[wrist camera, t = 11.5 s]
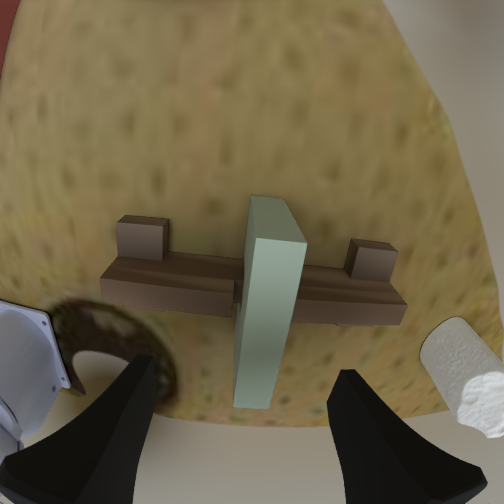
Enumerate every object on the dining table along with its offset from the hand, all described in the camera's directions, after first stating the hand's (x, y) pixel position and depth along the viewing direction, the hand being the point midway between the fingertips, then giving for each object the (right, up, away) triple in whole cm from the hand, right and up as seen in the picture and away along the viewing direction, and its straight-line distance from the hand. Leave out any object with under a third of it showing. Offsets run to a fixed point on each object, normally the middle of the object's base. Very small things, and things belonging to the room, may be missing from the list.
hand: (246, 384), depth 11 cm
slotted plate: (+1, +4, +10) cm, 10 cm away
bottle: (+19, -4, +14) cm, 23 cm away
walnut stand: (+1, +4, +10) cm, 10 cm away
